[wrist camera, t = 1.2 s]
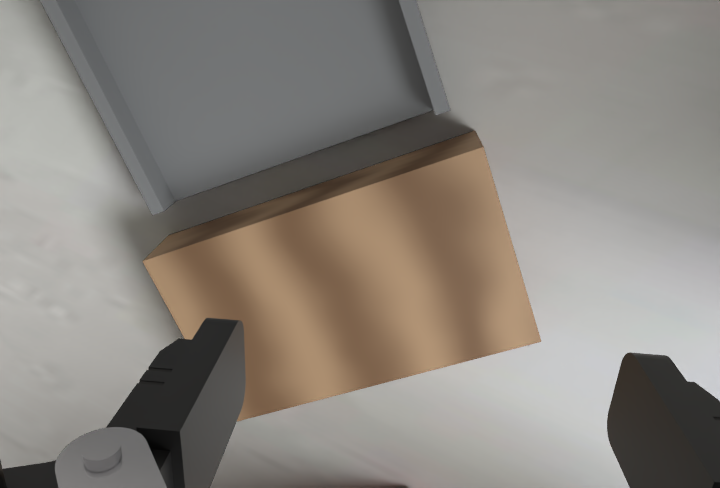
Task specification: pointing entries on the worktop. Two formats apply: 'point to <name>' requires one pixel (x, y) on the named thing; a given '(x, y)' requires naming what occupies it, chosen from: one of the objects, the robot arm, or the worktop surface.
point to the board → (356, 277)
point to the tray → (243, 81)
